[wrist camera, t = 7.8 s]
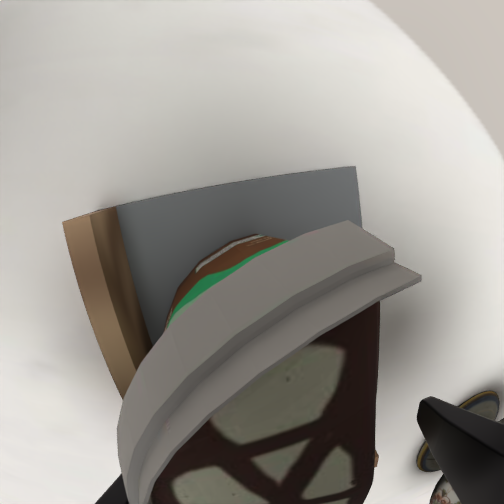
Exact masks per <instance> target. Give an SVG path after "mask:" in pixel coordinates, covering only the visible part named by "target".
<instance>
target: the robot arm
mask: <svg viewBox="0 0 504 504" xmlns="http://www.w3.org/2000/svg"><path fill="white" fill-rule="evenodd" d="M417 422H418V424H419V426H420V429H421V431H422V433H423V435H424V437H425V440H426V442H427V444H428V446H429V449H430V451H431V453H432V455H433V457H434V458H435V460H436V462H437V463H438V465H439V467H440V468H441V470H442V472H443V473H444V475H445V477H446V478H447V480H448V482H449V483H450V485H451V487H452V489H453V490H454V492H455V494H456V495H457V497H458V499H459V501H460V502H461V504H504V424H502V423H499V422H496V421H493V420H491V419H488V418H485V417H483V416H480V415H478V414H475V413H472V412H470V411H467V410H465V409H462V408H460V407H457V406H455V405H452V404H450V403H447V402H445V401H442V400H440V399H437V398H435V397H432V396H430V397H427V398H425V399H423V400H421V401H420V404H419V409H418V413H417ZM95 504H130V503H129V501H128V498H127V494H126V490H125V485H124V481H123V476H122V473H121V475H120V476H119V477H118V478H117V479H116V480H115V481H114V483H113V484H112V485H111V486H110V487H109V488H108V489H107V491H106V492H105V493H104V494H103V495H102V496H101V497H100V498H99V499H98V501H97V502H96V503H95Z"/></svg>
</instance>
